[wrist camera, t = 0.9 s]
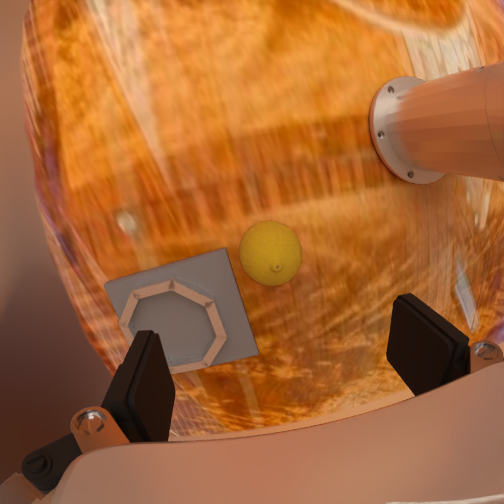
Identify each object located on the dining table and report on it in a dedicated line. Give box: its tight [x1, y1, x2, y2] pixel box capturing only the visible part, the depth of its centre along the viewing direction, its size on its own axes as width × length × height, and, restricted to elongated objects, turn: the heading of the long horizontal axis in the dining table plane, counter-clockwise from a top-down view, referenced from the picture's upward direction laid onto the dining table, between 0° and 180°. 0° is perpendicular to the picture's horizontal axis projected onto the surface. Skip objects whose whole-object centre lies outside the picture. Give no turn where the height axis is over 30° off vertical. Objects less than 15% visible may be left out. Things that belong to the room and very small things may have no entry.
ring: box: [119, 274, 227, 374], centre depth 30 cm, size 11×11×2 cm
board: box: [104, 247, 259, 366], centre depth 32 cm, size 14×13×1 cm
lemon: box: [239, 221, 302, 286], centre depth 26 cm, size 6×6×8 cm
